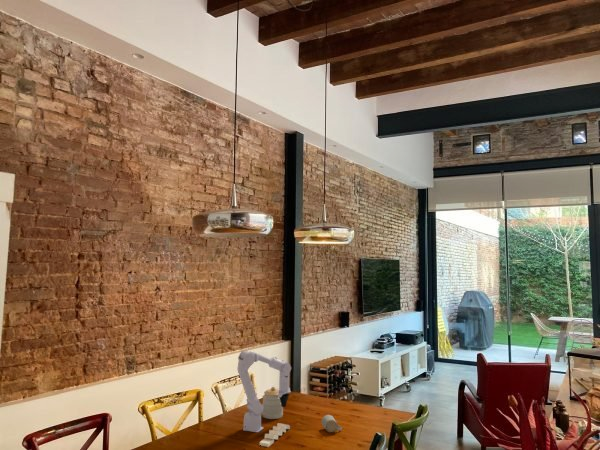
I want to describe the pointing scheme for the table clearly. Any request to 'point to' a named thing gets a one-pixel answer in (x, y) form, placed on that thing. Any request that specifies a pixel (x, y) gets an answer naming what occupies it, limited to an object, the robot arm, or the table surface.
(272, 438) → the tile
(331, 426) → the ceramic mug
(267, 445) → the tile
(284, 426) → the tile
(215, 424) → the table surface
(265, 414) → the jar
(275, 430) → the tile
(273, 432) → the tile
